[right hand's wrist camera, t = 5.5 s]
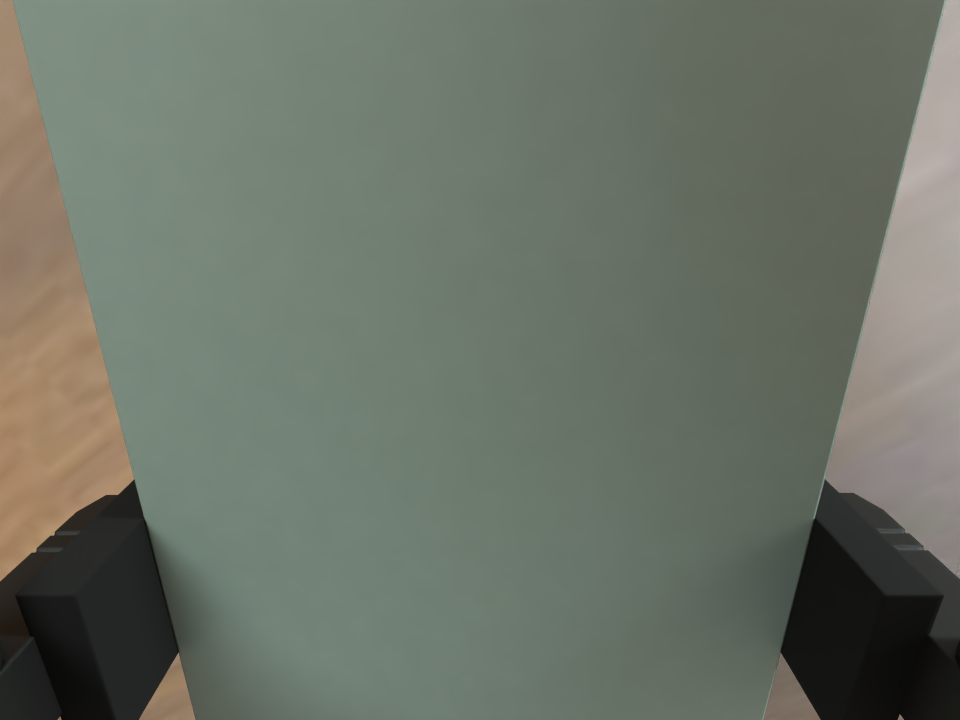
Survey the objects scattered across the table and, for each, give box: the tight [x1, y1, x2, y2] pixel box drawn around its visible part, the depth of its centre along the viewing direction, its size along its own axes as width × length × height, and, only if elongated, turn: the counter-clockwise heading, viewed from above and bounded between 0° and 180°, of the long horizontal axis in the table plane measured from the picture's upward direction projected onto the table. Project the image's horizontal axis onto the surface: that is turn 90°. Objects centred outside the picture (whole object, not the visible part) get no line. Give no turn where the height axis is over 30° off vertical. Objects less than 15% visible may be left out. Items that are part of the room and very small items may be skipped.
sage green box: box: [13, 0, 946, 720], centre depth 13 cm, size 16×10×10 cm, turn 0°
